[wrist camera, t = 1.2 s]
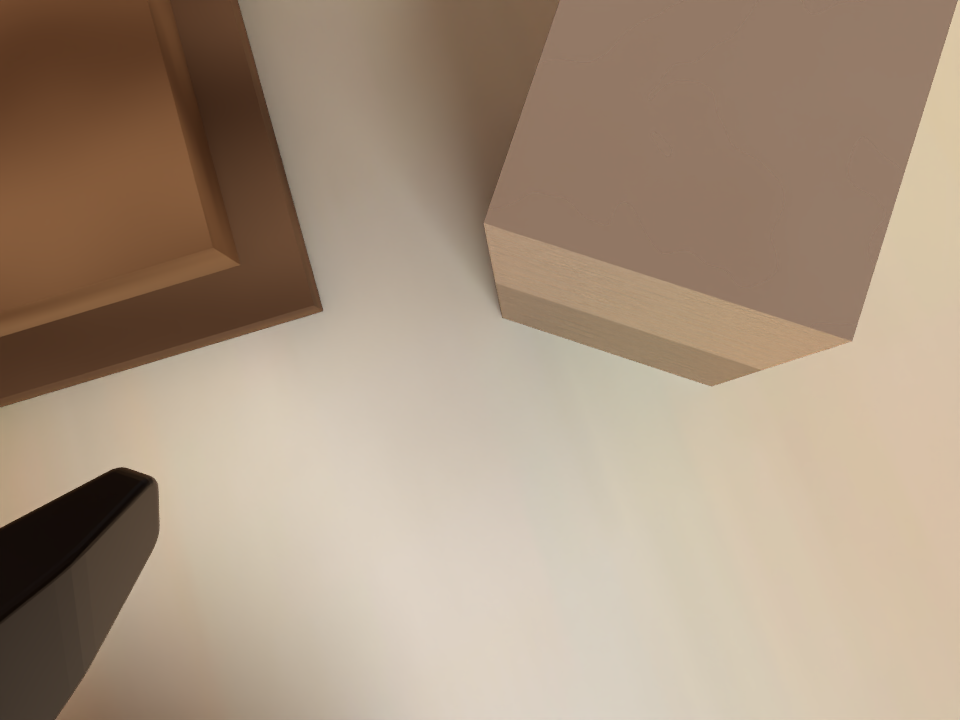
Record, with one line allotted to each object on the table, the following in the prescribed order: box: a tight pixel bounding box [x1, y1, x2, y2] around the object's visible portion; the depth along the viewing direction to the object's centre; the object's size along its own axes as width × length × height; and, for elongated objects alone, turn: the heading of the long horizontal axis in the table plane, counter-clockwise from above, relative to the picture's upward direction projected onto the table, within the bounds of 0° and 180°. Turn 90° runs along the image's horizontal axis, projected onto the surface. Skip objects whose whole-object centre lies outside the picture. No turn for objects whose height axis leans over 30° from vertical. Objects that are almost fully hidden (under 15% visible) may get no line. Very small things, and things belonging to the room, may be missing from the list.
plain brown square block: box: [484, 0, 958, 386], centre depth 18 cm, size 6×6×10 cm
